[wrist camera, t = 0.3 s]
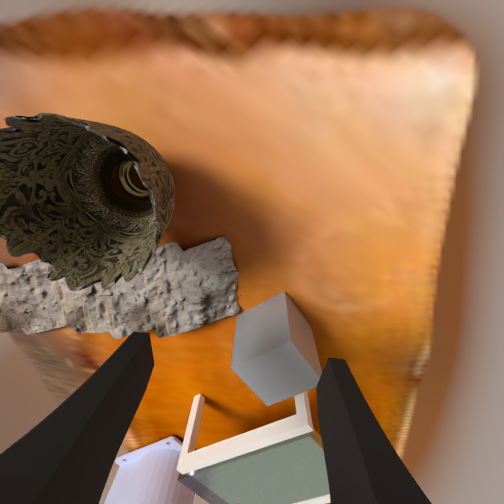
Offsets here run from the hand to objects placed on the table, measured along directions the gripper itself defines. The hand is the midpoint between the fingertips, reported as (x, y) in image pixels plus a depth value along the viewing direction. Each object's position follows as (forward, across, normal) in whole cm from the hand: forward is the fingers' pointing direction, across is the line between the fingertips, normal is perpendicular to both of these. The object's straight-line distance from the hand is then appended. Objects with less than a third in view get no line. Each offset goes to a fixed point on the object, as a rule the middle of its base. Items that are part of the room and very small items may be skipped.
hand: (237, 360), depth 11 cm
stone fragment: (+10, +13, +7) cm, 18 cm away
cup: (+11, +8, -3) cm, 14 cm away
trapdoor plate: (+3, -4, +19) cm, 19 cm away
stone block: (+10, -3, +8) cm, 13 cm away
